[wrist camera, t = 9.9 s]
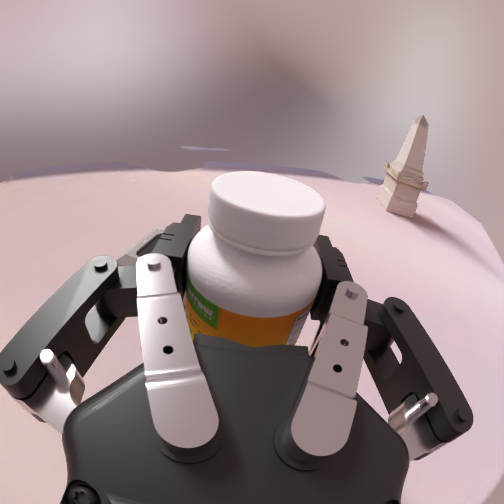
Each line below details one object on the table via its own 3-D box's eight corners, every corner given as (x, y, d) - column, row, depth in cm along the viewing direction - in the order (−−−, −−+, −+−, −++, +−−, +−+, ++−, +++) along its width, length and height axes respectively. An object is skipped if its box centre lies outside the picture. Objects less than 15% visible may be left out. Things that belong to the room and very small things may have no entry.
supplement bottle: (166, 365, 13) (154, 187, 8) (220, 309, 17) (240, 158, 12) (255, 418, 12) (325, 253, 6) (296, 347, 16) (356, 195, 10)
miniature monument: (414, 219, 70) (446, 124, 53) (385, 211, 70) (416, 110, 53) (401, 204, 78) (429, 119, 62) (374, 196, 78) (400, 106, 62)
